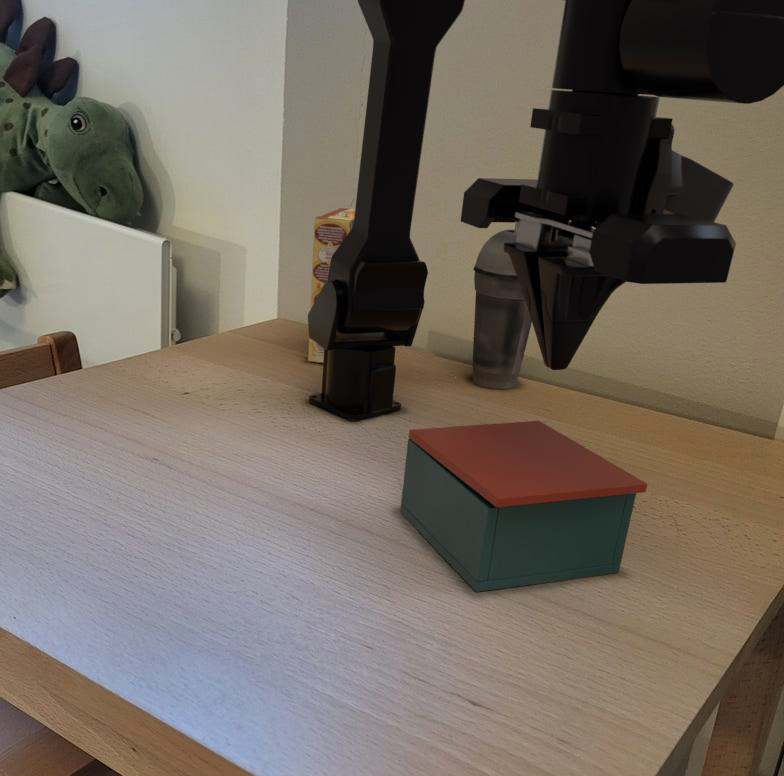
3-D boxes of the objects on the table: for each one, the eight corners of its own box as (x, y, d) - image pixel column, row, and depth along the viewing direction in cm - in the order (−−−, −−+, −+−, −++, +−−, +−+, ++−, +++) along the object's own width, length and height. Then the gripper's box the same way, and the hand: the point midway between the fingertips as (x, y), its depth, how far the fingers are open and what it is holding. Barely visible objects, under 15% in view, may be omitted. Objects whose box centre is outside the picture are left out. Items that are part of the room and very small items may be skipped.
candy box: (342, 367, 98) (353, 220, 91) (305, 362, 99) (313, 215, 93) (364, 347, 105) (376, 210, 99) (329, 342, 106) (338, 206, 100)
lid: (646, 492, 56) (648, 483, 56) (496, 508, 53) (497, 498, 52) (538, 428, 67) (539, 420, 66) (407, 437, 63) (408, 429, 63)
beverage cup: (525, 374, 99) (555, 181, 91) (533, 396, 92) (567, 189, 84) (457, 369, 99) (481, 176, 91) (461, 389, 93) (487, 183, 85)
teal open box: (618, 573, 59) (636, 493, 57) (475, 592, 56) (488, 508, 54) (525, 499, 69) (538, 428, 67) (399, 512, 66) (407, 438, 63)
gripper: (860, 111, 44) (773, 413, 51) (623, 92, 60) (580, 324, 67) (670, 100, 41) (603, 425, 47) (473, 83, 57) (443, 329, 63)
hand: (555, 368), depth 56 cm, fingers closed
